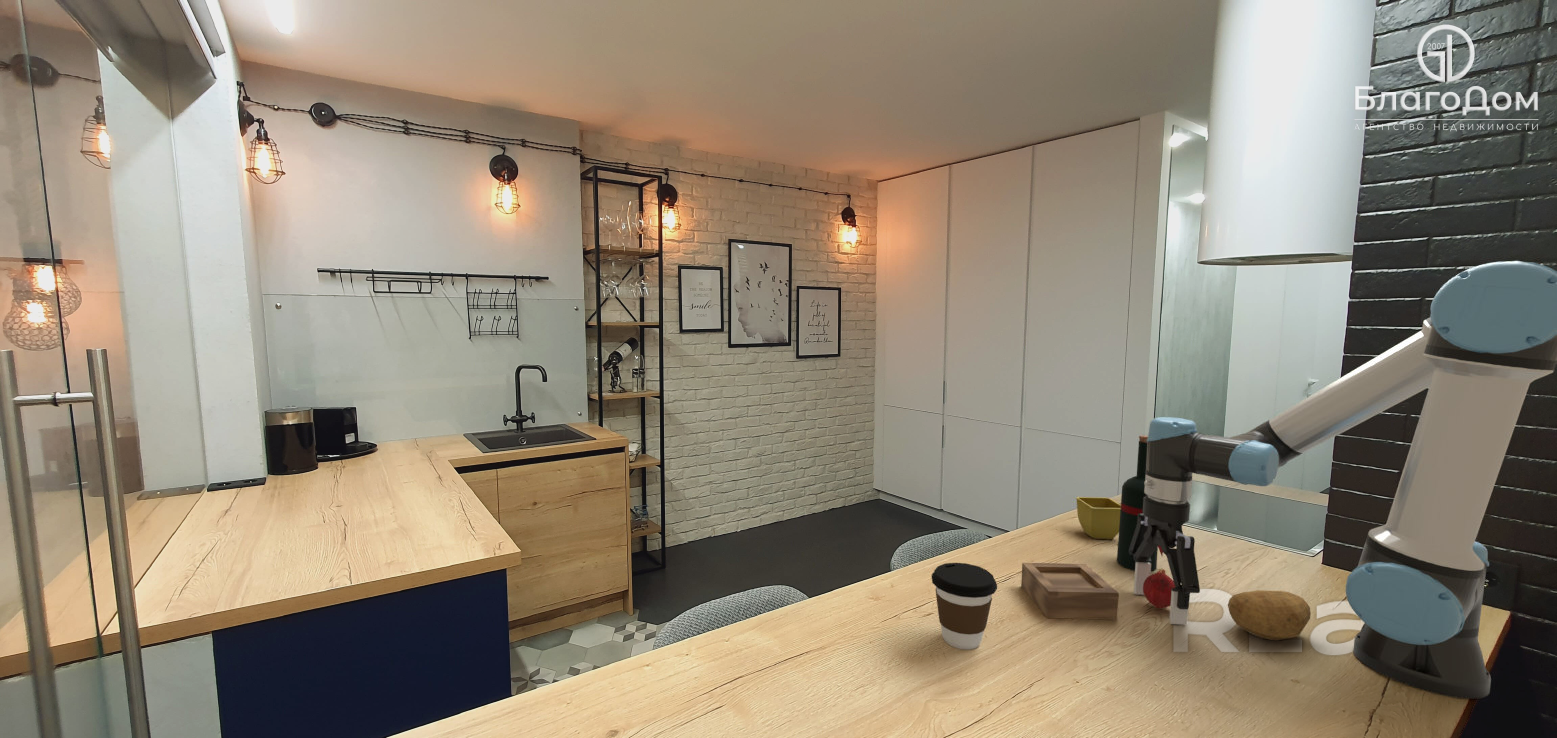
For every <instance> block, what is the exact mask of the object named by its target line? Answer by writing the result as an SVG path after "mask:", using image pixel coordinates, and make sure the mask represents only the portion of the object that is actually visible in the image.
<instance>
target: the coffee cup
mask: <svg viewBox="0 0 1557 738" xmlns="http://www.w3.org/2000/svg"><path fill="white" fill-rule="evenodd" d="M931 582H932V584H933V585H934V586H935V597H936V605H937V614H938V619H939V620H938V621H939V623H940V627H941V630H940V631H941V636H942V638H943V640H944V642H945V643H946V644H948V645H949V646H951V647H952V648H956V649H958V650H974V649H977V648H978V647H979V645H980V644H981V643H982V640H983V636H984V632H985V629H986V628H987V624H988V619H989V614H990V610H991V606H992V600H993V598H992V595H995V592H997V590H998V584H997V581H996V579H995V577H994V574H992V573H991V572H989V570H987V569H985V568H983V567H981V566H978V565H975V564H970V563H964V562H946V563H943V564H941V565H938V566H937V567H936V568H935V569H934V570H933V572H932V574H931Z"/></svg>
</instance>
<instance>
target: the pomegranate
mask: <svg viewBox="0 0 1557 738" xmlns="http://www.w3.org/2000/svg"><path fill="white" fill-rule="evenodd" d="M1172 588H1175V585H1174V581H1173V578H1171V577H1170V576H1169V575H1167V574H1166V569H1164V568H1159V569H1158V571H1157V572H1156V573H1152V574H1150V576H1149V577H1147V578H1146V579H1145V581H1144V584H1143V593H1144V595H1143V596H1144V597H1145V598H1146V600H1147V601H1148V603H1150V604H1151V605H1152V606H1154V607H1155V608H1156V609H1158V610H1163V609H1166V608H1170V606H1171V592H1172Z"/></svg>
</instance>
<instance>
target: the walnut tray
mask: <svg viewBox="0 0 1557 738" xmlns="http://www.w3.org/2000/svg"><path fill="white" fill-rule="evenodd" d="M1020 584H1021V585H1020V587H1021V589H1023V590H1024V592H1025V594H1027V595H1028V596H1029V598H1030V599H1031V600H1032V601H1033V602H1034V603H1035V605H1036V606H1037V607H1038V608H1039V610H1041V612H1042V613H1043V615H1044V616H1045V617H1046V618H1047V619H1084V620H1085V619H1087V620H1118V612H1119V611H1118V609H1119V594H1120V592H1118V590H1117V589H1115V588H1114V587H1113V586H1112V585H1110V584H1109V583H1108V582H1107V581H1105V580H1104V578H1102V577H1101V576H1100V575H1099V574H1097V573H1096V572H1095V571H1094V570H1093V569H1092V568H1090V567H1089V566H1088V565H1087V564H1086V563H1054V562H1050V563H1049V562H1044V563H1043V562H1022V563H1021V580H1020Z"/></svg>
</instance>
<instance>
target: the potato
mask: <svg viewBox="0 0 1557 738" xmlns="http://www.w3.org/2000/svg"><path fill="white" fill-rule="evenodd" d="M1227 608H1228V612H1229V615H1230V617H1231V619H1232V620H1233V621H1234V623H1235V624H1236V626H1238V627H1239V628H1241V629H1242V630H1244V631H1246V632H1247V633H1250V634H1251V635H1253V636H1256V637H1258V638H1262V639H1264V640H1271V641H1279V640H1281V641H1282V640H1288V639H1293V638H1296V637H1298V636H1299V635H1301V634H1302V632H1303V630H1305V627H1306V625H1308V623H1309V621H1310V620H1311V614H1312V613H1311V607H1310V605H1309V603H1308V602H1307V601H1306V600H1305V599H1304V598H1303V597H1301V596H1299V595H1297V594H1294V593H1291V592H1290V591H1285V590H1261V589H1260V590H1259V589H1258V590H1252V591H1243V592H1239V593H1236V594H1234V595H1232V596H1231V597H1230V598H1229V601H1228V603H1227Z"/></svg>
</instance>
